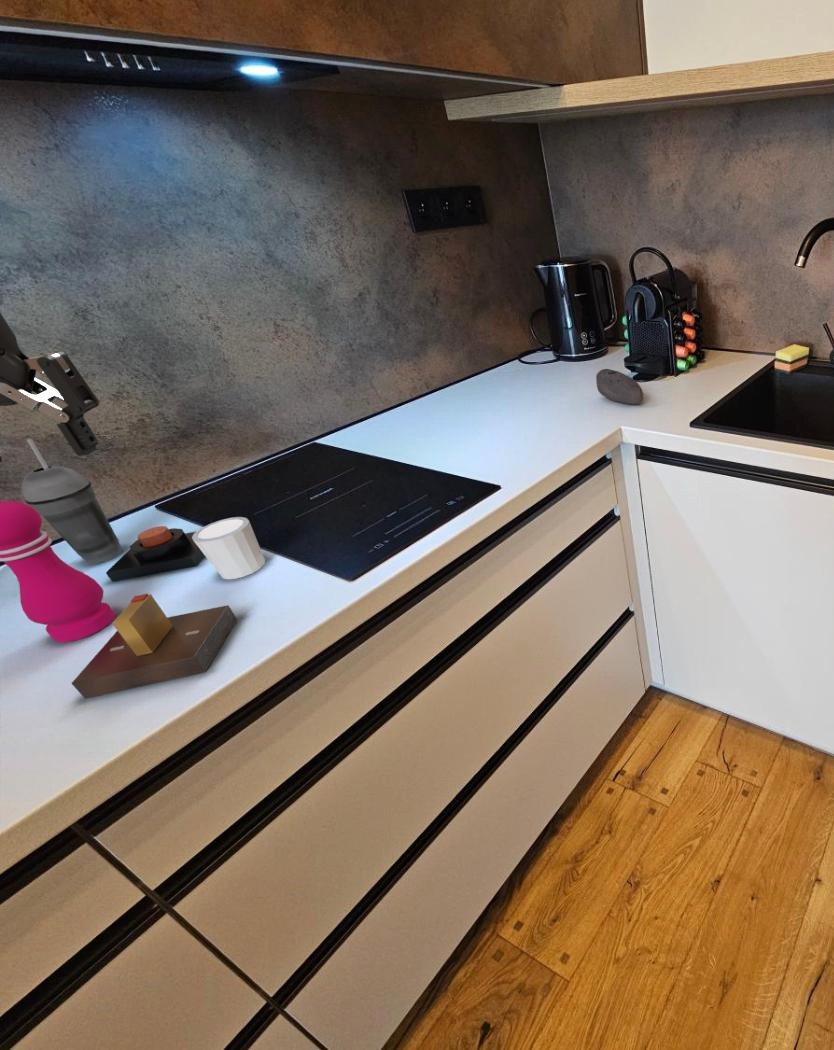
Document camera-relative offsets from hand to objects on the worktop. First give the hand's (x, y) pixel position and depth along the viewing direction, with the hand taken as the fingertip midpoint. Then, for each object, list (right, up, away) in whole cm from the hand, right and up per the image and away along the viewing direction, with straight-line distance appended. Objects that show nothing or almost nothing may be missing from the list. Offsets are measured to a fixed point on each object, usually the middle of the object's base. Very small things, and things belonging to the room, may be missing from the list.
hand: (41, 459), depth 62 cm
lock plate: (+5, -23, +9) cm, 25 cm away
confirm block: (-13, -12, +29) cm, 34 cm away
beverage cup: (-25, -12, +31) cm, 41 cm away
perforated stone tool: (+52, +23, +79) cm, 97 cm away
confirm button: (-13, -10, +27) cm, 32 cm away
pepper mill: (-11, -21, +15) cm, 28 cm away
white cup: (+2, -14, +25) cm, 29 cm away
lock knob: (+5, -21, +7) cm, 23 cm away
